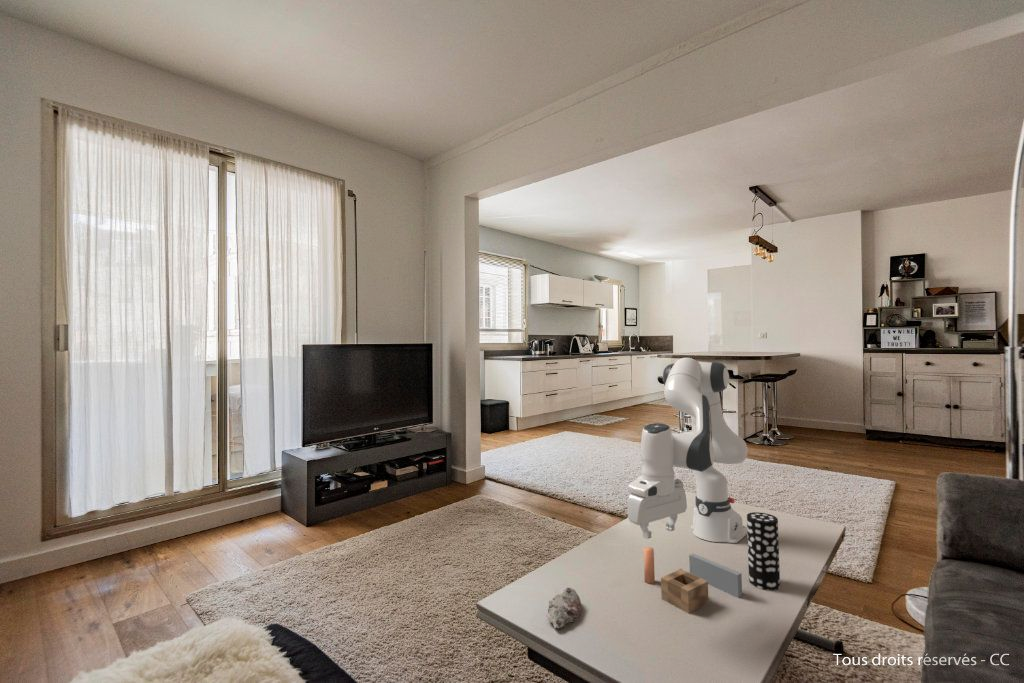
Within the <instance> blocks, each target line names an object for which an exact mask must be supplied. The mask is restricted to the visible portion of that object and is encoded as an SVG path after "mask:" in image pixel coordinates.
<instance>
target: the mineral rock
mask: <svg viewBox="0 0 1024 683" xmlns="http://www.w3.org/2000/svg"><path fill="white" fill-rule="evenodd" d="M581 609H582V602H581V599H580V595H579V594H578V593H577V591H576V590H575V589H574V588H571V587H567V588H565V589H564V590H563V591H562V592H561V593H558V594H556V595H555V596H554V597H553V598H552V600H549V601H548V608H547V611H548V612H547V614H546V618H547V620H548V621H549V622H550V623H551V624H552V625H553V627H554V628H555V629H560V628H563V627H565V626H566V625H567V623H569V622H568V621H573V622H572V623H574V622H575V621H577V619H578V616H579V615H580V613H581Z"/></svg>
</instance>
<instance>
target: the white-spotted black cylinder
mask: <svg viewBox="0 0 1024 683" xmlns="http://www.w3.org/2000/svg"><path fill="white" fill-rule="evenodd" d="M778 522H779V519H778V517H777V516H775V515H773V514H770V513H765V512H755V511H754V512H749V513H747V514H746V527H747V535H746V536H747V560H748V561H747V562H748V564H747V565H748V582H749V583H750V584H751V585H752V586H753V587H755V588H758V589H761V590H764V591H776V590H780V588H781V575H780V574H781V571H780V546H779V545H780V542H779V523H778Z"/></svg>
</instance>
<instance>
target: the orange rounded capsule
mask: <svg viewBox="0 0 1024 683" xmlns="http://www.w3.org/2000/svg"><path fill="white" fill-rule="evenodd" d="M643 564H644V565H643V570H644V573H643V575H644V583H646V584H649V585H653V584H655V581H656V580H655V549H654V548H653V547H650V546H645V547H643Z"/></svg>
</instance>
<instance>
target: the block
mask: <svg viewBox="0 0 1024 683" xmlns="http://www.w3.org/2000/svg"><path fill="white" fill-rule="evenodd" d="M660 586H661V588H660V590H661V599H662V600H663V601H665V602H667V603H669V604H671V605H672V606H674V607H676V608H678V609H679V610H682V611H684V612H685V613H687V614H690V613H692V612H694V611H695V610H698V609H699V608H701V607H703V606H706V605H707V604H708V603H709V601H710V600H709V584H708V581H706V580H704V579H702V578H700V577H697V576H695V575H693V574H691V573H690V571H689V572H688V571H686V570H684V569H682V568H679V569H677V570H675V571H672V572H670V573H668V574H666V575H664V576H662V577H660Z"/></svg>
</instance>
